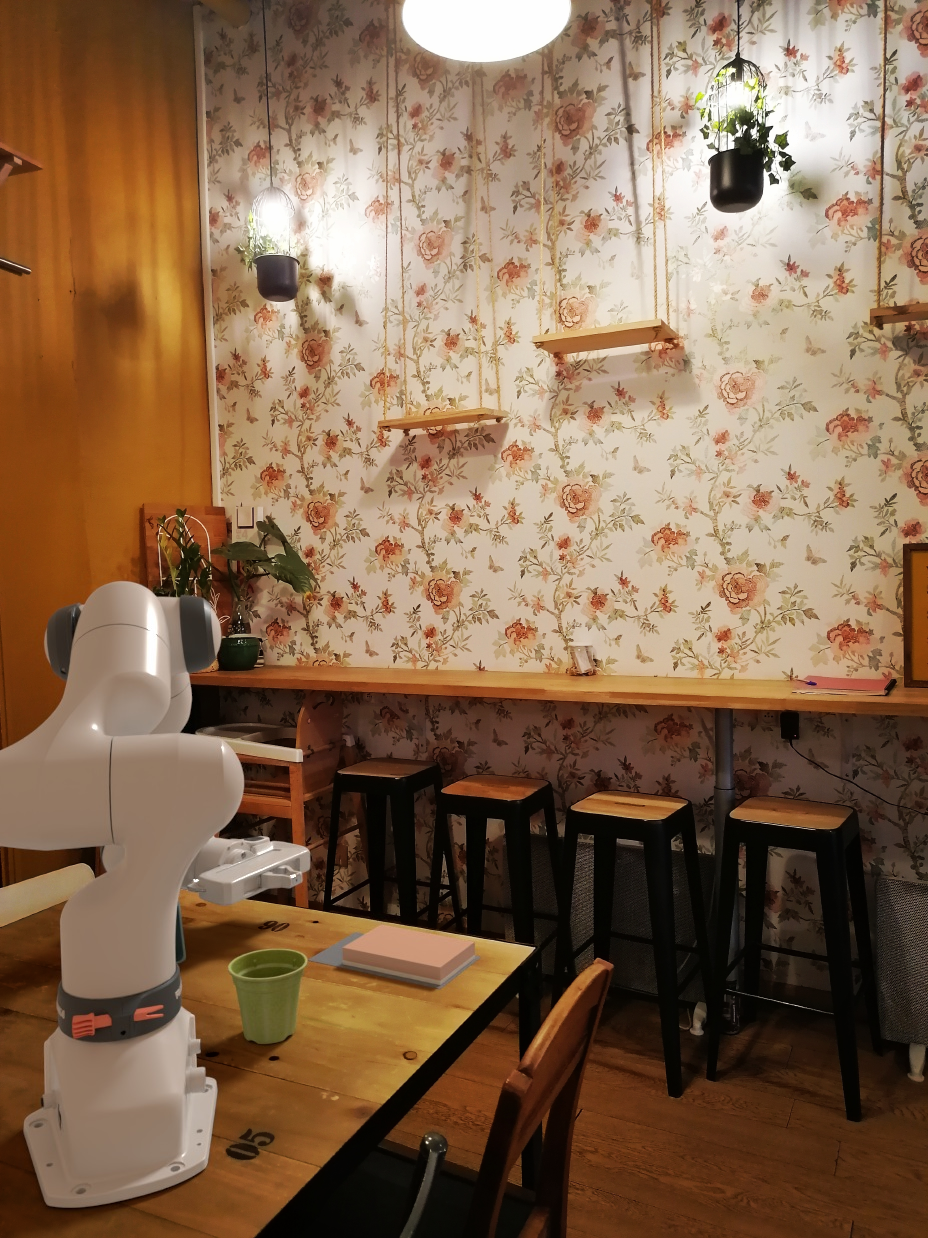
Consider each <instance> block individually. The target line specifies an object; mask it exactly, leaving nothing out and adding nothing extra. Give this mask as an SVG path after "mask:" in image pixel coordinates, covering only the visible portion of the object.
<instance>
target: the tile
mask: <svg viewBox="0 0 928 1238" xmlns="http://www.w3.org/2000/svg"><path fill="white" fill-rule="evenodd" d="M363 934H364V935H363V936H361V937H359V938H358V939H356V940H354V941H353V942H351V943H349V944H347V945H346V946H344V947H342V949H343V964H345V965H349V966H354V967H359V968H363V969H368V970H372V971H377V972H382V973H386V974H391V975H396V976H400V977H405V978H410V979H414V980H419V981H423V982H428V983H433V984H437V985H442V984H443V983H444V982H445V981H447V980H448V979H449V978H451V977H452V976H453V975H454V974H456V973H457V972H458V971H460V970H461V969H462V968H463V967H465V966H466V965H467V964H468V963H470V962H471V961H472V960H474V959H475V955H476V949H475V948H476V943H475V941H471V940H466V939H463V938H462V939H461V938H456V937H451V936H450V937H449V936H445V935H439V934H436V933H435V934H434V933H429V932H424V931H418V930H413V929H408V928H401V927H397V926H392V925H387V924H379V925H378V926H375V927H374V928H373V929H371V930H370V931H368V932H366V933H363Z"/></svg>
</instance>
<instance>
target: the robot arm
mask: <svg viewBox="0 0 928 1238" xmlns="http://www.w3.org/2000/svg"><path fill="white" fill-rule="evenodd" d="M215 612H216V611H214V609H213V607H212V604H211V603H210V602H209V601H208V600H206V599H205V598H204V597H201V596H196V595H188V594H187V595H186V594H181V595H180V596H179V597H175V596H174V597H173V596H157V595H155V593H154V592H153V591H151V590H150V589H149V588H148V587H146V586H144V585H143V584H140V583H136V582H133V581H126V580H119V581H117V580H116V581H112V582H109V583H105V584H103V585H101V586H99V587H98V588H96V589H95V590H94V591H93V592H92V593H91V594H90V595H89V596H88V598H87V599H86V601H85V603H84V604H82V603H80V602H76V603H73V604H69V605H66V606H63V607H60V608H58V609H57V610H56V611H55V612H53V614H52V615H51V616H50V617H49V618H48V621H47V624H46V630H45V633H44V641H43V646H44V652H45V657H46V659H47V661H48V662H49V665H50V667H51V669H52V671H53V673H54V675H56V676H57V677H59V678H60V679H61V680H62V681H64V682H66V683H65V684H66V685H65V688H64V692H63V696H62V698H61V701H60V702H59V703H58V705H57V707H56V708H55V710H54V711H52V713H51V714H50V715H49V716H48V718H47V719H45V720H44V722H42V724H40V725H39V726H38V727H37V728H36V729H35V730H33V731H32V732H30V733H29V734H28V735H26V736H25V737H23V738H22V739H20V740H18V741H16V742H15V743H13V744H11V745H9V746H7V747H5V748H3V749H1V750H0V847H4V848H5V847H6V848H15V849H21V850H22V849H23V850H34V851H55V850H56V851H57V850H59V851H60V850H67V849H81V848H91V847H100V848H99V849H100V850H99V853H100V860H101V861H100V862H101V864H102V865H101V866H102V867H103V869H104V871H105V873H102V874H101V875H99V876H97V877H95V878H93V879H92V880H90V881H89V882H87V883H85V884H84V885H83V886H81V887H80V888H79V889H77V890H76V891H75V892H74V893H73V894H72V895H71V896H70V897H69V898H68V900H67V901H66V903H65V905H64V907H63V909H62V911H61V914H60V918H59V926H60V927H59V928H60V930H59V931H60V932H59V933H60V959H61V962H60V963H61V966H60V967H61V968H60V969H61V980H60V982H59V984H58V986H57V996H56V1011H57V1025H58V1026H57V1028H56V1029H55V1031H54V1032H53V1033H52V1034H51V1035H50V1036H49V1037H48V1038H47V1039H46V1040H45V1041H44V1044H43V1057H44V1058H43V1059H44V1060H43V1062H44V1063H43V1064H44V1066H43V1068H44V1071H43V1072H44V1094H42V1095H41V1098H40V1105H41V1108H39V1109H36V1110H35V1111H34V1112H32V1113H30V1114H28V1115H27V1116H26V1117H25V1119H24V1120H23V1121H24V1122H23V1130H22V1131H23V1135H24V1138H25V1141H26V1145H27V1147H28V1151H29V1154H30V1158H31V1161H32V1165H33V1167H34V1171H35V1173H36V1177H37V1180H38V1185H39V1187H40V1191H41V1194H42V1198H43V1200H44V1202H45V1204H46V1205H47V1206H49V1207H53V1208H54V1207H55V1208H68V1209H69V1208H72V1209H73V1208H74V1209H75V1208H86V1207H94V1206H100V1205H106V1204H111V1203H116V1202H120V1201H125V1200H129V1199H134V1198H137V1197H141V1196H145V1195H148V1194H152V1193H155V1192H158V1191H162V1190H164V1189H166V1188H169V1187H172V1186H175V1185H177V1184H179V1183H182V1182H184V1181H186V1180H188V1179H190V1178H192V1177H193V1176H195V1175H197V1174H199V1173H200V1172H202V1171H203V1170H204V1169H206V1167H207V1165H208V1162H209V1157H210V1156H209V1155H210V1150H211V1144H212V1143H211V1141H212V1134H213V1126H214V1121H215V1120H214V1119H215V1114H216V1113H215V1112H216V1107H217V1098H218V1090H219V1089H218V1084H217V1080H216V1079H215V1078H213V1077H210V1076H206V1073H207V1071H206V1067H205V1066H198V1067H197V1054H201V1050H202V1043H201V1038H196V1017H195V1014H192V1013H191V1012H190V1011H188V1010H187V1009H186V1008H184V1007H183V1006H182V990H183V984H182V983H183V982H182V977H181V971H180V966H179V964H176V959H175V932H176V914H177V903H178V901H179V896H180V891H181V889H182V890H187V891H188V892H189V893H194V894H195V893H196V894H198V897H199V899H201V900H203V901H205V902H207V903H211V904H215V905H219V906H222V907H223V906H224V907H225V906H232V905H235V904H237V903H240V902H241V901H243V900H246V899H248V898H250V897H253V896H255V895H257V894H259V893H261V892H264V891H266V890H269V889H280V888H284V889H291V888H293V887H295V886H297V885H299V884H302V883H303V873H305V872H308V871H310V868H311V851H310V849H308V848H307V847H306V846H303V845H300V844H296V843H295V844H294V843H291V842H286V841H279V840H278V841H277V840H272V841H270V837H268V836H266V835H265V836H262V835H260V836H252V837H246V838H241V839H238V838H230V839H228V838H221V837H215V835H216V834H218V833H219V832H220V831H222V830H223V829H224V828H226V826H227V825H228V824H229V823H230V822H231V821H232V819H233V818H234V816H235V815H236V813H237V812H238V810H239V808H240V806H241V803H242V799H243V796H244V790H245V776H244V771H243V767H242V766H243V765H242V764H241V761H240V760H239V757H238V756H237V753H236V752H235V751H234V749H233V748H232V747H231V745H229V744H228V743H227V741H226V740H224V739H223V738H221V737H220V738H219V737H214V736H207V735H201V734H191V733H184V732H182V730H183V729H184V727H185V726H186V724H187V723H188V721H189V718H190V715H191V709H192V702H193V696H192V694H193V693H192V687H191V686H192V685H191V679H190V678H191V677H190V674H193V673H198V672H200V671H203V670H206V669H208V668H210V667H211V666H212V664H213V663H214V662H215V661H216V660H217V655H218V652H219V651H220V647H221V643H222V629H221V627H222V626H221V624H220V620H219V618H218V616H217V614H216V613H215Z"/></svg>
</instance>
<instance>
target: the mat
mask: <svg viewBox="0 0 928 1238" xmlns="http://www.w3.org/2000/svg"><path fill="white" fill-rule="evenodd" d="M364 934H365V933H363V932H362V933H361V932H357V931H355V932H353V933H351V934H350V935H348V936H346V937H345V938H343V939H341V940H339V941H337V942H336V943H334V944H332V945H331V946H329V947H327V948H326V949H323V950H322V951H321V952H318V953H317V954H315V955H314V956H311V957H310V958H307V962H315V963H318V964H323V965H326V966H327V965H328V966H332V967H337V968H341V969H346V970H350V971H353V972H360V973H363V974H368V975H373V976H377V977H378V976H379V977H383V978H387V979H391V980H395V981H396V980H397V981H400V982H405V983H410V984H414V985H420V986H423V987H428V988H433V989H436V990H441V989H443V988H444V987H445V986H447V984H450V982H452V981H453V980H454V979H456V977H458V976H459V975H461V974H462V972H464V971H465V970H467V969H468V968H469V967H470V966H473V964H474V963H476V962H477V961H478V960H480V958H482V956H479V955H476V954H475V959H474V960H472V961H471V962H470V963H468V964H467V965H466V966H465V967H463V968H462V969H461V970H460V971H458V972H457V973H456V974H454V975H453V976H452V977H451V978H449V979H448V980H447V981H445V982H444V983H443V984H442V985H437V984H433V983H428V982H423V981H419V980H414V979H410V978H405V977H400V976H396V975H391V974H386V973H382V972H377V971H372V970H368V969H363V968H359V967H354V966H349V965H345V964H343V949H342V947H344V946H346V945H347V944H349V943H351V942H353V941H354V940H356V939H358V938H359V937H361V936H363V935H364ZM475 961H476V962H475Z"/></svg>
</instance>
